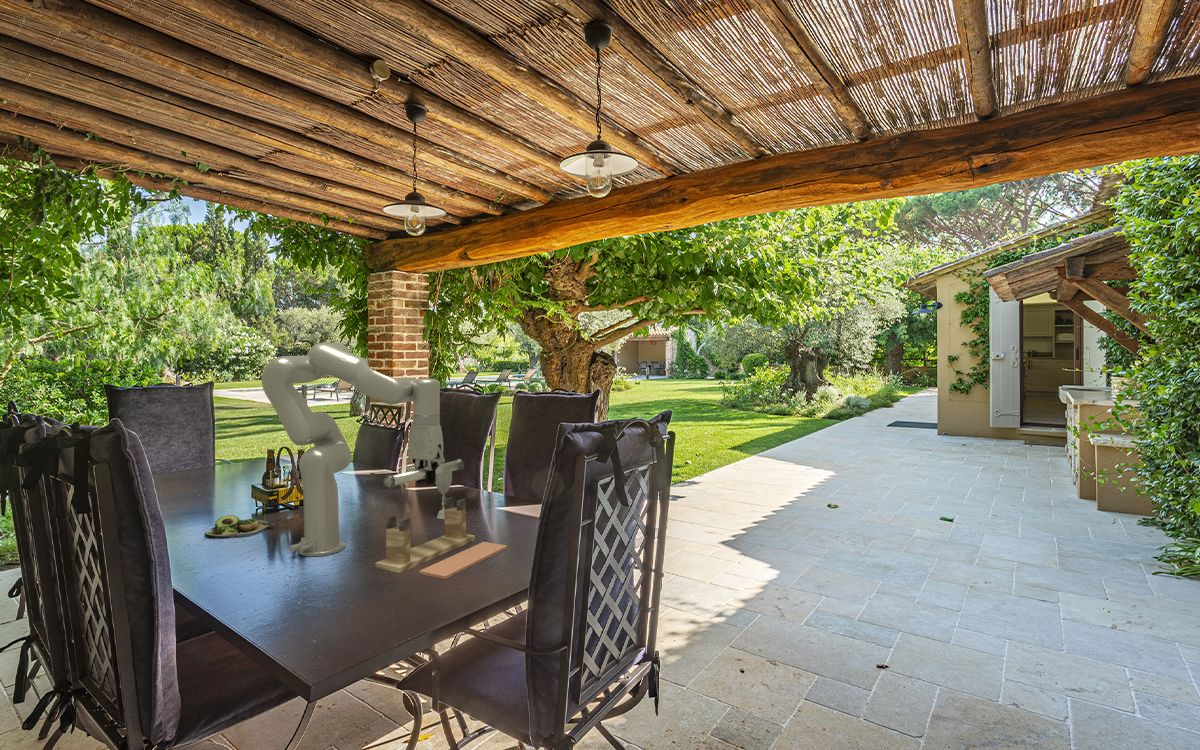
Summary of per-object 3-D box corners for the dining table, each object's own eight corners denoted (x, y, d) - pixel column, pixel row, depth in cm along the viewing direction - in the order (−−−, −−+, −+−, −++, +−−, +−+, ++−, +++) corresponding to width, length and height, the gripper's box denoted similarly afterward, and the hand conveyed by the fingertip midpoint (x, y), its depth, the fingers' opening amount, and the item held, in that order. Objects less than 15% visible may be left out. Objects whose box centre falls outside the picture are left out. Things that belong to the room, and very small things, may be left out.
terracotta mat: (445, 579, 158) (445, 576, 158) (419, 573, 162) (419, 570, 162) (507, 548, 183) (507, 545, 183) (483, 544, 187) (483, 541, 187)
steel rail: (392, 489, 164) (392, 476, 164) (382, 487, 166) (382, 474, 166) (464, 470, 191) (464, 459, 191) (455, 469, 192) (455, 458, 192)
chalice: (446, 513, 224) (445, 465, 223) (457, 516, 219) (457, 467, 219) (429, 517, 218) (429, 467, 217) (441, 520, 214) (440, 470, 213)
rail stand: (399, 573, 163) (399, 523, 162) (375, 568, 167) (374, 519, 166) (474, 540, 191) (474, 498, 191) (452, 536, 195) (452, 495, 195)
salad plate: (283, 523, 213) (283, 510, 213) (262, 538, 195) (262, 524, 195) (224, 525, 210) (224, 512, 210) (197, 541, 193) (197, 526, 193)
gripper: (396, 420, 178) (396, 481, 179) (439, 423, 171) (438, 488, 171) (414, 417, 185) (414, 477, 185) (456, 421, 177) (456, 483, 178)
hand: (426, 481), depth 178 cm, fingers closed on steel rail, 3 cm apart
